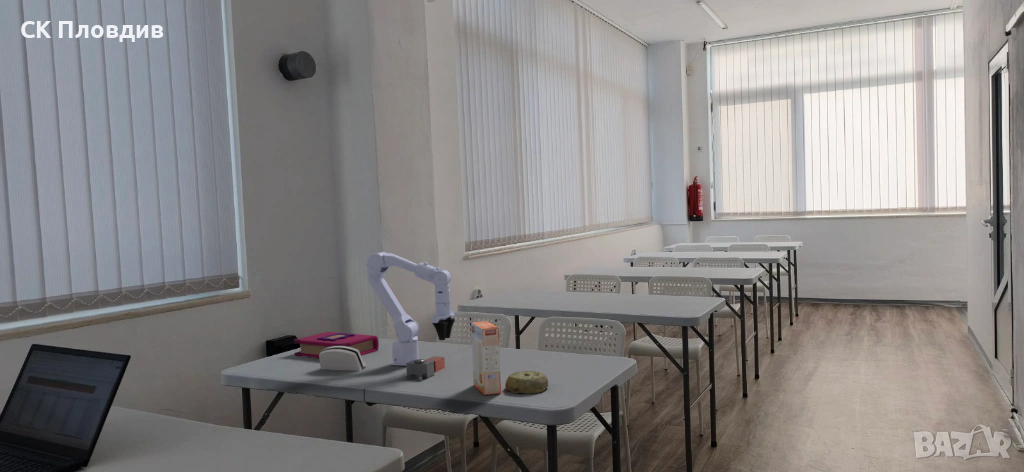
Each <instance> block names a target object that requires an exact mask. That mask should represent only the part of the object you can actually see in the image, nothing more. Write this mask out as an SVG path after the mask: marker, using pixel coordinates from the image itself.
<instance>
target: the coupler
mask: <svg viewBox="0 0 1024 472" xmlns="http://www.w3.org/2000/svg"><path fill="white" fill-rule="evenodd" d="M433 376H435V372H434V361H426V359H424V358H419V359H417V360H412V361H410V362H408V363H406V374H405V375H403V380H404V379H405V380H404V381H407V379H408V380H411V378H412V379H418V381H419V382H421V381H423V379H424V380H425V379H426V380H427V379H428V380H429V379H430V378H432V377H433Z"/></svg>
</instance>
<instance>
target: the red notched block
mask: <svg viewBox="0 0 1024 472" xmlns="http://www.w3.org/2000/svg"><path fill="white" fill-rule="evenodd" d="M425 360H426V361H434V373H438V372H439V371H441V370H443V369H445V368H446V362H445V356H436V355H434V356H431V357H429V358H427V359H425Z"/></svg>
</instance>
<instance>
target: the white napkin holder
mask: <svg viewBox="0 0 1024 472" xmlns="http://www.w3.org/2000/svg"><path fill="white" fill-rule="evenodd" d="M318 359H319V365H320V370H321V369H331V370H330V371H356V372H357V371H358V372H360V371H362V370H363V369H366V368H367V365H366V363H365V362H364V360H363V358H362V356H361V355H360V352H359V350H357V349H354V348H351V347H346V346H333V347H328V348H326V349H324V350H322V352H321V353H320V354H319V358H318Z"/></svg>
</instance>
